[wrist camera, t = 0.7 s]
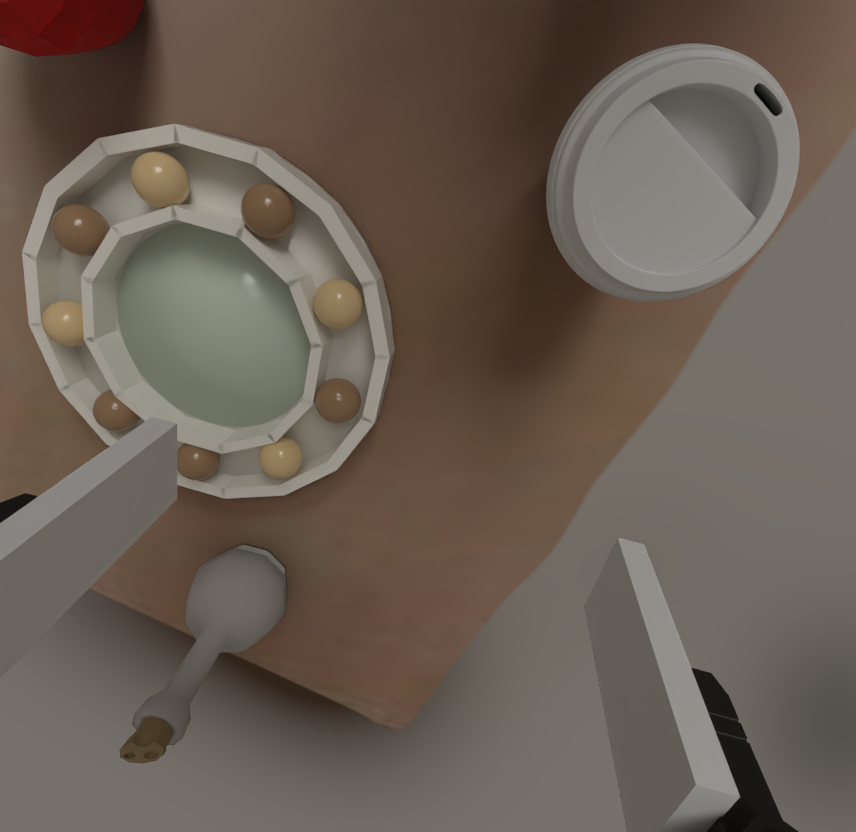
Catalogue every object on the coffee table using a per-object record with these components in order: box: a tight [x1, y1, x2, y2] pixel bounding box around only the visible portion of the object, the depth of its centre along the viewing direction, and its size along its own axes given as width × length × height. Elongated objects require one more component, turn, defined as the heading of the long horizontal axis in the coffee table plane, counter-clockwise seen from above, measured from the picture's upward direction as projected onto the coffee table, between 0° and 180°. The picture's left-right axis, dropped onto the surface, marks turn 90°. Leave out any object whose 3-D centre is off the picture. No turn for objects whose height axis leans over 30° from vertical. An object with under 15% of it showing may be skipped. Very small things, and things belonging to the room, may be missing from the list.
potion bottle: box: [120, 544, 287, 763], centre depth 43 cm, size 9×9×18 cm
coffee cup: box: [546, 43, 800, 302], centre depth 26 cm, size 10×10×15 cm
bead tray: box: [22, 124, 395, 499], centre depth 38 cm, size 27×27×4 cm
